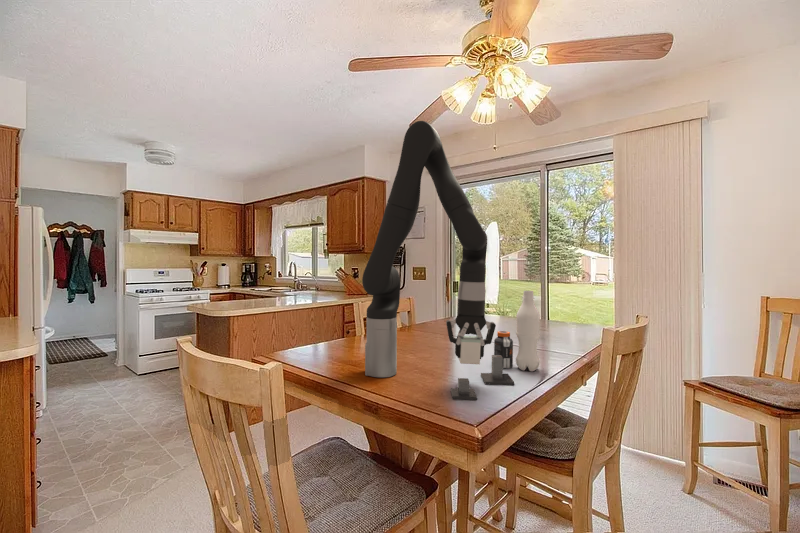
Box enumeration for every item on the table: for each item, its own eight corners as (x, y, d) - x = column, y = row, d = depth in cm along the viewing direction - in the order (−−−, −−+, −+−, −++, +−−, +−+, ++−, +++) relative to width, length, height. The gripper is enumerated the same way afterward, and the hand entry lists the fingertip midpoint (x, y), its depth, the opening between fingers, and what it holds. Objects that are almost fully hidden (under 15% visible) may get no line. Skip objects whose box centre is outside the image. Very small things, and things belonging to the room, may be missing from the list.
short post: (452, 399, 93) (452, 383, 93) (450, 391, 99) (450, 376, 99) (476, 400, 93) (477, 384, 93) (473, 391, 99) (473, 376, 99)
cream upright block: (460, 363, 103) (461, 339, 103) (458, 358, 108) (459, 335, 108) (479, 364, 103) (480, 340, 102) (476, 359, 108) (477, 336, 108)
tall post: (485, 384, 105) (485, 359, 105) (480, 375, 113) (480, 352, 113) (514, 385, 104) (514, 360, 104) (507, 376, 112) (508, 353, 112)
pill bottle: (513, 369, 120) (513, 333, 119) (494, 368, 121) (494, 333, 121) (511, 364, 126) (512, 330, 125) (493, 363, 127) (493, 329, 127)
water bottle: (514, 370, 118) (515, 291, 117) (516, 365, 124) (517, 289, 124) (539, 373, 115) (540, 292, 115) (539, 367, 122) (540, 290, 121)
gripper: (446, 298, 101) (444, 360, 102) (500, 300, 101) (497, 363, 101) (444, 295, 109) (442, 353, 109) (494, 297, 108) (492, 355, 109)
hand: (469, 357), depth 105 cm, fingers closed on cream upright block, 5 cm apart
